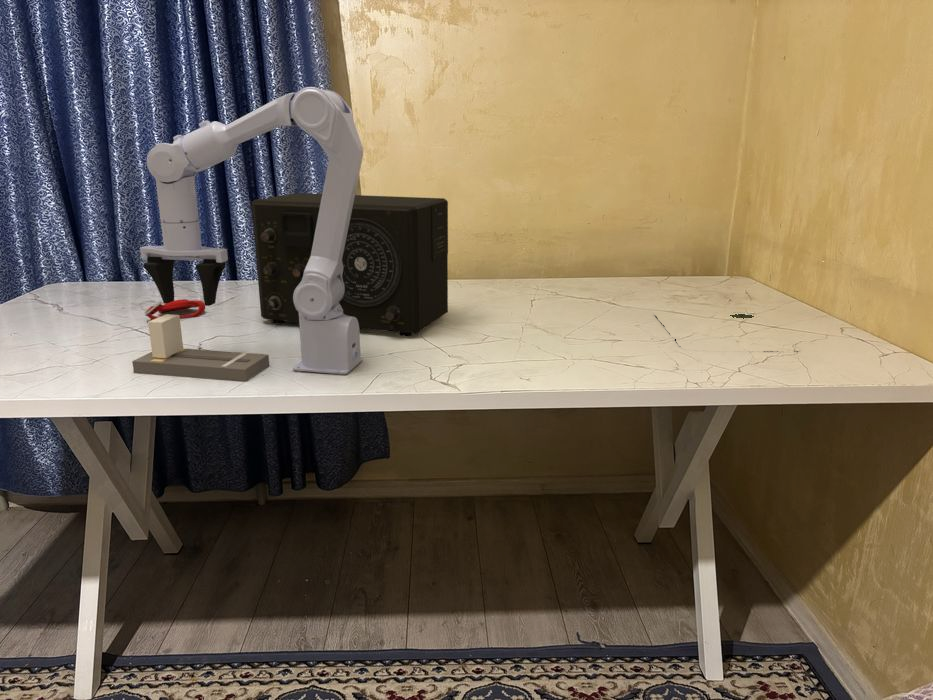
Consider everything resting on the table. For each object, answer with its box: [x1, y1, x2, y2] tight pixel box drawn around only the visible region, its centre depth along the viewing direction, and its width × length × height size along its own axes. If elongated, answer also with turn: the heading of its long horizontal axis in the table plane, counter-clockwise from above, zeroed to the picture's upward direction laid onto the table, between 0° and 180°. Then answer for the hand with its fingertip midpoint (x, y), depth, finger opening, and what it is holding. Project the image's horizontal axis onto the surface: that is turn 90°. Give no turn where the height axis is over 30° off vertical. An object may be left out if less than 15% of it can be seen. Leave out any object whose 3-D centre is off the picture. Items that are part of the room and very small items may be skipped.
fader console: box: [131, 347, 270, 382], centre depth 118 cm, size 20×8×2 cm, turn 78°
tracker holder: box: [144, 298, 206, 320], centre depth 151 cm, size 12×4×10 cm
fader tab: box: [147, 313, 184, 358], centre depth 118 cm, size 2×5×6 cm, turn 169°
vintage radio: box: [251, 192, 449, 337], centre depth 144 cm, size 38×20×25 cm, turn 72°
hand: (189, 303), depth 118 cm, fingers open, 7 cm apart
